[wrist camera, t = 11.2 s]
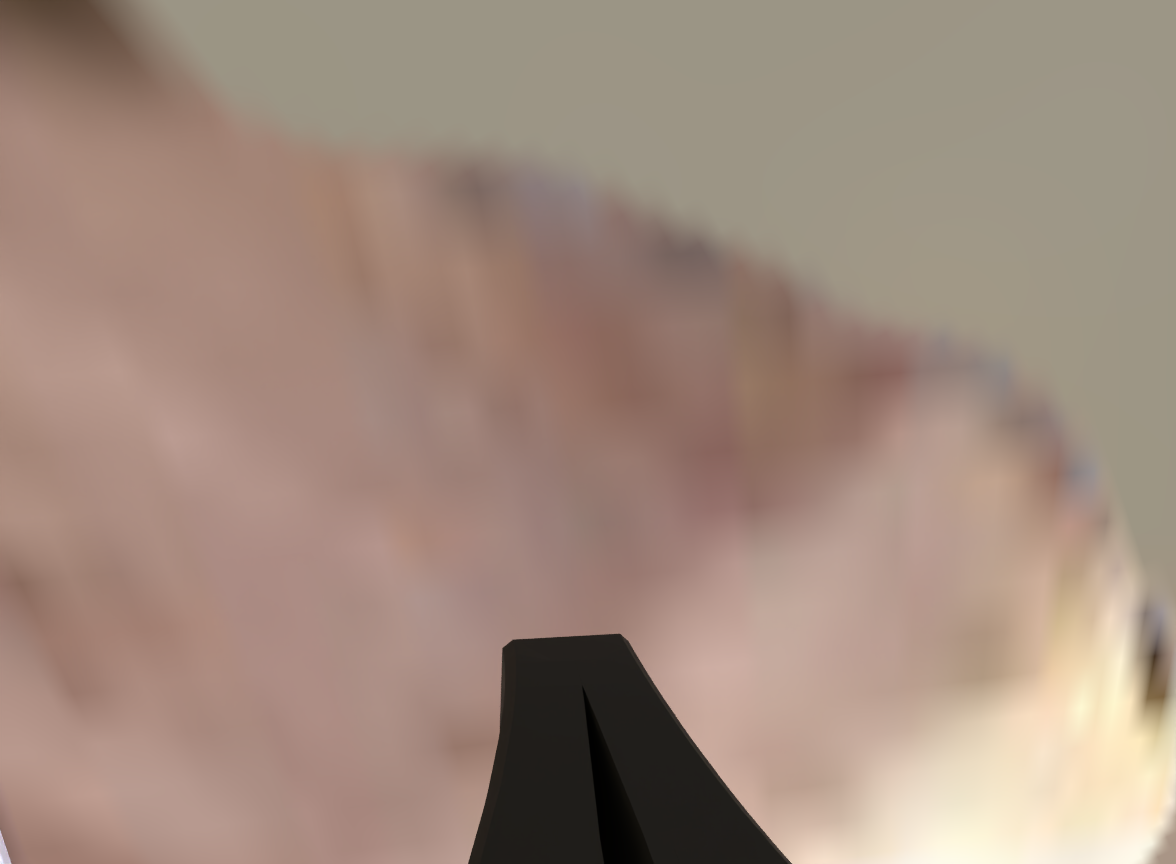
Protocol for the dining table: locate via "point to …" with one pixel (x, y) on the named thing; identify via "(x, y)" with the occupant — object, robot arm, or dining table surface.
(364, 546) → the dining table surface
